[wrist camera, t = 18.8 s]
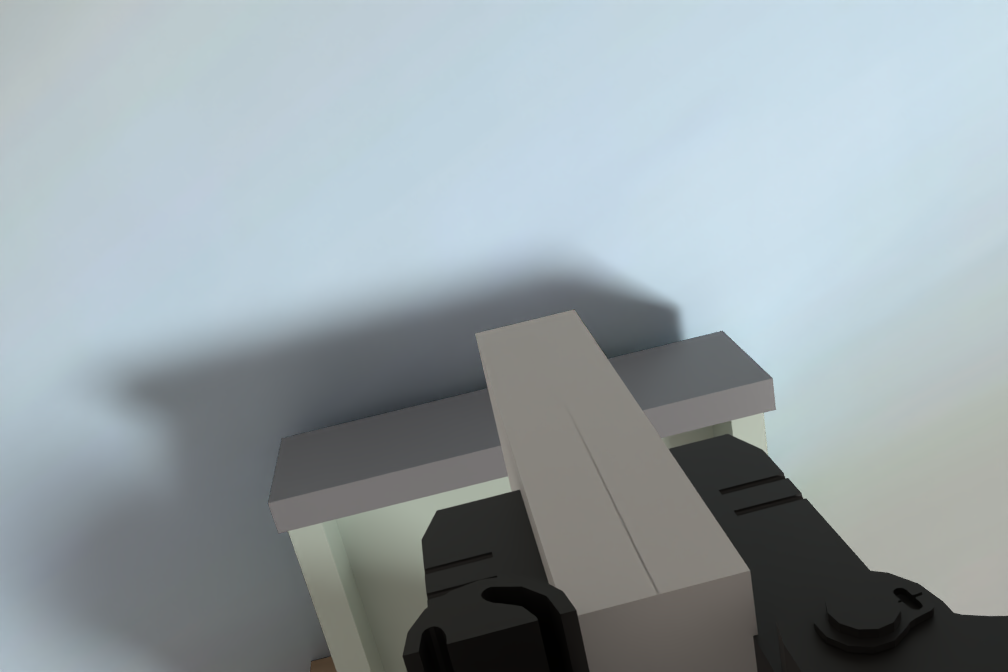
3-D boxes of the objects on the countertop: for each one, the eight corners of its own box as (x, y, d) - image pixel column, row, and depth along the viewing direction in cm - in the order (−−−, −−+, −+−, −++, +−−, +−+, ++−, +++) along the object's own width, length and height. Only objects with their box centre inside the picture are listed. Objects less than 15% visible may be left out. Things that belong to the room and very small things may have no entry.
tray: (281, 438, 28) (267, 503, 24) (722, 331, 29) (772, 378, 25) (420, 853, 35) (426, 952, 31) (773, 757, 36) (818, 843, 32)
